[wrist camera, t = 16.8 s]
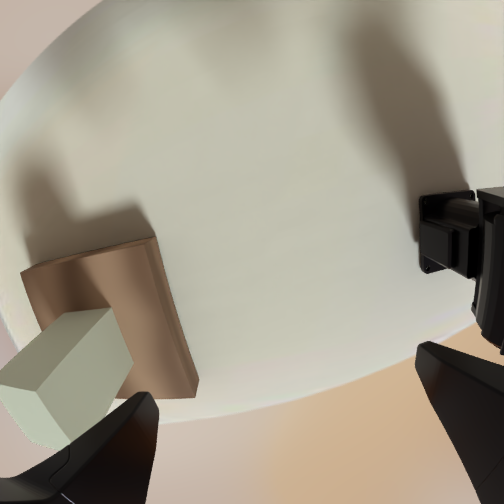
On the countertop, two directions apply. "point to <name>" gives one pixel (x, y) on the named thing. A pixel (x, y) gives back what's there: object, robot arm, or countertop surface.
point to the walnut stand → (122, 311)
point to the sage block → (66, 377)
